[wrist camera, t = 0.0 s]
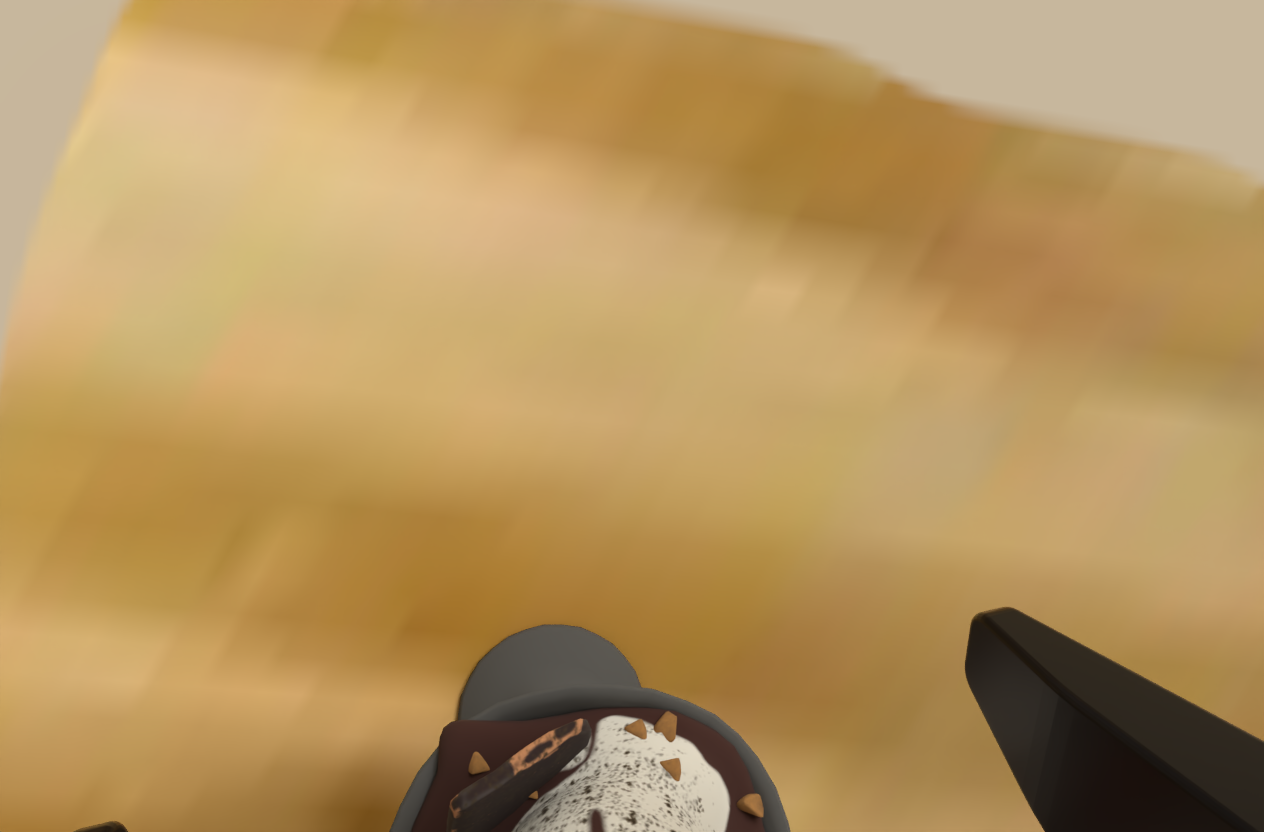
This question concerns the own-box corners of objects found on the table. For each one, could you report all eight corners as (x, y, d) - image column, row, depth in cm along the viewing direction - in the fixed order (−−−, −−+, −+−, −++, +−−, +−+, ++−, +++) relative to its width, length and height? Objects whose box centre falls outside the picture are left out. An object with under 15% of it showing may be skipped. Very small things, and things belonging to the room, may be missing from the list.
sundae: (667, 850, 25) (930, 1444, 10) (411, 841, 24) (270, 1485, 9) (690, 601, 25) (974, 808, 10) (439, 582, 24) (347, 782, 9)
